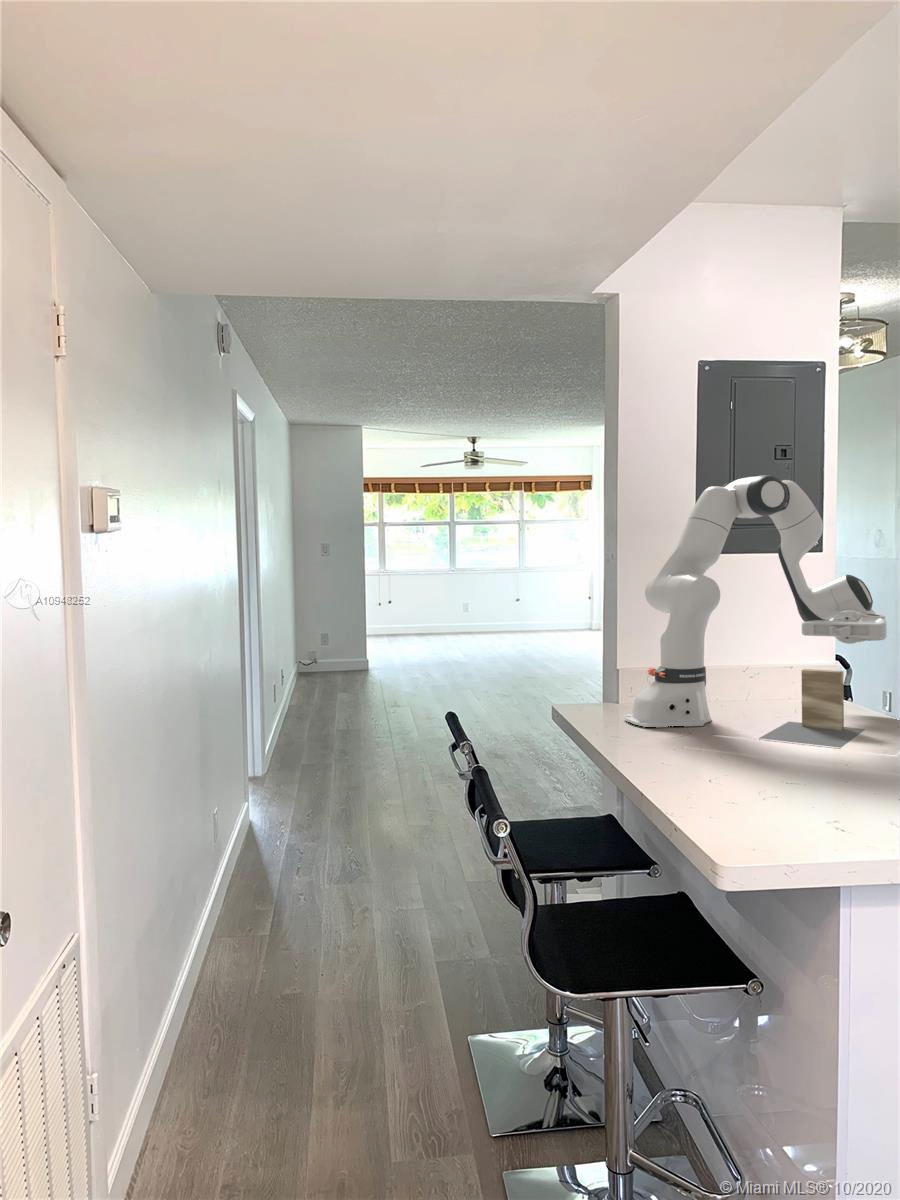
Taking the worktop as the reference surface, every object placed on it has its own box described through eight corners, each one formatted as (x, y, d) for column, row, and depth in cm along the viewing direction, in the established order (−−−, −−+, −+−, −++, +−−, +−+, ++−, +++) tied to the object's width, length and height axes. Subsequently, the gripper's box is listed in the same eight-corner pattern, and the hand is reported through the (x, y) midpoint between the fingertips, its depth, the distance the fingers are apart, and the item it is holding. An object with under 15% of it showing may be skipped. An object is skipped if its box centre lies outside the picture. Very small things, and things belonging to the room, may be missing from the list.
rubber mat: (788, 723, 214) (788, 721, 214) (865, 730, 203) (865, 729, 203) (758, 739, 197) (758, 738, 197) (840, 749, 186) (840, 747, 186)
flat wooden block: (805, 724, 210) (804, 668, 209) (844, 728, 204) (843, 671, 204) (802, 726, 208) (801, 670, 207) (840, 730, 202) (840, 672, 201)
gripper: (809, 614, 231) (793, 618, 220) (891, 615, 218) (879, 620, 208) (809, 637, 232) (793, 642, 221) (891, 639, 219) (879, 645, 208)
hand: (835, 631), depth 214 cm, fingers closed
